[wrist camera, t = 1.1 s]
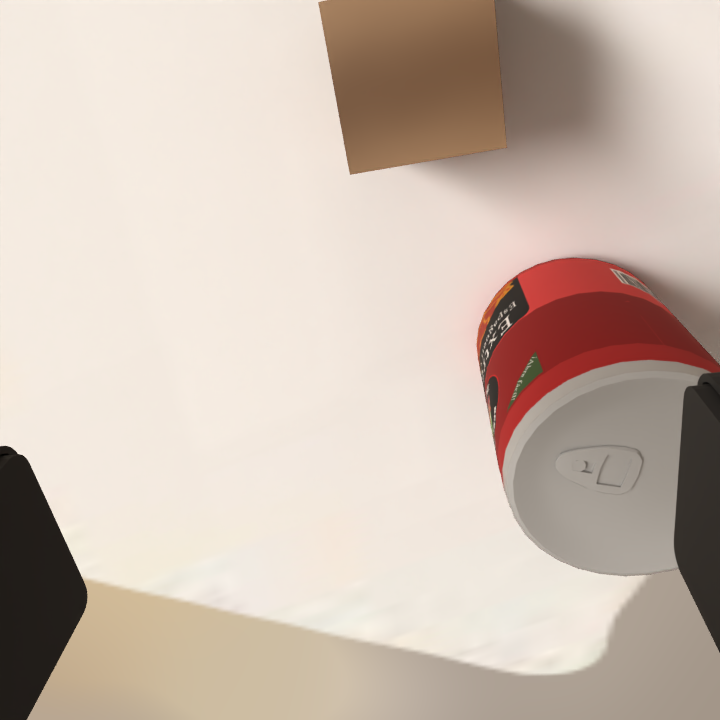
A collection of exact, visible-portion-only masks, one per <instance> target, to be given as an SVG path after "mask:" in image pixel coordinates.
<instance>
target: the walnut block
mask: <svg viewBox="0 0 720 720" xmlns="http://www.w3.org/2000/svg"><path fill="white" fill-rule="evenodd" d="M318 3H319V8H320V14H321V19H322V25H323V30H324V35H325V41H326V46H327V52H328V57H329V63H330V68H331V74H332V79H333V85H334V90H335V95H336V101H337V106H338V112H339V117H340V123H341V128H342V134H343V139H344V145H345V150H346V155H347V161H348V166H349V172H350V175H351V174H357V173H362V172H368V171H374V170H380V169H386V168H391V167H397V166H403V165H409V164H415V163H420V162H426V161H432V160H438V159H444V158H449V157H455V156H461V155H467V154H473V153H478V152H484V151H490V150H496V149H502V148H507V145H506V133H505V121H504V109H503V97H502V85H501V73H500V61H499V50H498V38H497V26H496V14H495V2H494V0H327V1H322V2H318Z"/></svg>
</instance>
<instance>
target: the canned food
mask: <svg viewBox="0 0 720 720" xmlns="http://www.w3.org/2000/svg"><path fill="white" fill-rule="evenodd" d="M477 352H478V361H479V366H480V371H481V377H482V382H483V387H484V392H485V397H486V403H487V408H488V413H489V418H490V424H491V429H492V434H493V439H494V445H495V450H496V455H497V460H498V465H499V470H500V473H501V477H502V482H503V487H504V491H505V494H506V497H507V499H508V502H509V505H510V508H511V509H512V512H513V515H514V518H515V519H516V521H517V523H518V524H519V526H520V527H521V529H522V530H523V532H524V533H525V535H526V536H527V537H528V538H529V539H531V540H532V541H533V542H534V543H535V544H536V545H537V546H538V547H539V548H540V549H541V550H543V551H544V552H546V553H548V554H549V555H551V556H552V557H554V558H555V559H557V560H559V561H561V562H564V563H566V564H569V565H571V566H573V567H576V568H578V569H582V570H586V571H591V572H595V573H599V574H607V575H618V576H635V575H651V574H656V573H661V572H667V571H672V570H676V569H679V568H678V565H677V561H676V558H675V553H674V528H675V514H676V499H677V485H678V470H679V456H680V441H681V427H682V412H683V398H684V392H685V389H686V388H687V387H688V386H695V385H697V383H698V380H699V378H700V376H701V375H702V374H704V373H714V372H720V365H719V364H718V363H717V362H716V361H715V359H714V358H713V357H712V356H711V355H710V354H709V353H708V352H707V351H706V350H705V349H704V348H703V347H702V345H701V344H700V343H699V342H698V341H697V340H696V339H695V338H694V337H693V336H692V335H691V334H690V333H689V331H688V330H687V329H686V328H685V327H684V326H683V325H682V324H681V323H680V322H679V321H678V320H677V319H676V317H675V316H674V315H673V314H672V313H671V312H670V311H669V310H668V309H667V308H666V307H665V306H664V305H663V303H662V302H661V301H660V300H659V299H658V298H657V297H656V296H655V295H654V294H653V293H652V292H651V291H650V289H649V288H648V287H647V286H646V285H645V284H644V283H643V282H642V281H640V280H639V279H638V278H636V277H635V276H634V275H633V274H631V273H630V272H628V271H626V270H624V269H622V268H620V267H618V266H616V265H614V264H610V263H606V262H602V261H598V260H593V259H581V258H565V259H556V260H551V261H548V262H544V263H541V264H537V265H535V266H533V267H531V268H529V269H527V270H525V271H523V272H521V273H519V274H518V275H517V276H515V277H514V278H513V279H511V280H510V281H508V282H507V283H506V284H505V285H504V286H503V287H502V288H501V290H500V291H499V292H498V293H497V294H496V295H495V297H494V298H493V300H492V301H491V303H490V304H489V306H488V308H487V309H486V311H485V312H484V315H483V318H482V320H481V323H480V326H479V330H478V337H477Z"/></svg>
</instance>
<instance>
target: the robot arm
mask: <svg viewBox="0 0 720 720" xmlns="http://www.w3.org/2000/svg"><path fill="white" fill-rule="evenodd" d="M674 553H675V558H676V561H677V565H678V568H679V570H680V572H681V574H682V576H683V578H684V580H685V582H686V584H687V586H688V589H689V591H690V593H691V595H692V597H693V599H694V601H695V603H696V605H697V607H698V609H699V611H700V613H701V615H702V617H703V619H704V621H705V623H706V625H707V627H708V629H709V631H710V633H711V636H712V637H713V640H714V642H715V644H716V646H717V648H718V650H719V652H720V372H714V373H704V374H702V375H701V376H700V378H699V380H698V383H697V385H695V386H688V387H687V388H686V389H685V392H684V398H683V412H682V427H681V441H680V456H679V470H678V485H677V499H676V514H675V528H674ZM86 604H87V589H86V586H85V583H84V581H83V579H82V577H81V574H80V572H79V570H78V568H77V566H76V563H75V561H74V559H73V557H72V555H71V553H70V550H69V548H68V546H67V544H66V542H65V540H64V537H63V535H62V533H61V531H60V529H59V527H58V524H57V522H56V520H55V518H54V516H53V513H52V511H51V509H50V507H49V505H48V503H47V500H46V498H45V496H44V494H43V492H42V490H41V487H40V485H39V483H38V481H37V479H36V476H35V474H34V472H33V470H32V468H31V466H30V463H29V462H28V460H27V459H26V458H25V457H24V456H23V455H19V454H17V452H16V451H15V450H14V449H12V448H11V447H8V446H0V720H27V718H28V716H29V714H30V712H31V711H32V709H33V707H34V705H35V703H36V701H37V699H38V697H39V696H40V694H41V692H42V690H43V688H44V686H45V684H46V682H47V681H48V679H49V677H50V675H51V673H52V671H53V669H54V667H55V666H56V664H57V662H58V660H59V658H60V656H61V654H62V652H63V651H64V649H65V647H66V645H67V643H68V641H69V639H70V637H71V636H72V634H73V632H74V630H75V628H76V626H77V624H78V622H79V621H80V618H81V617H82V615H83V613H84V611H85V608H86Z"/></svg>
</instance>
